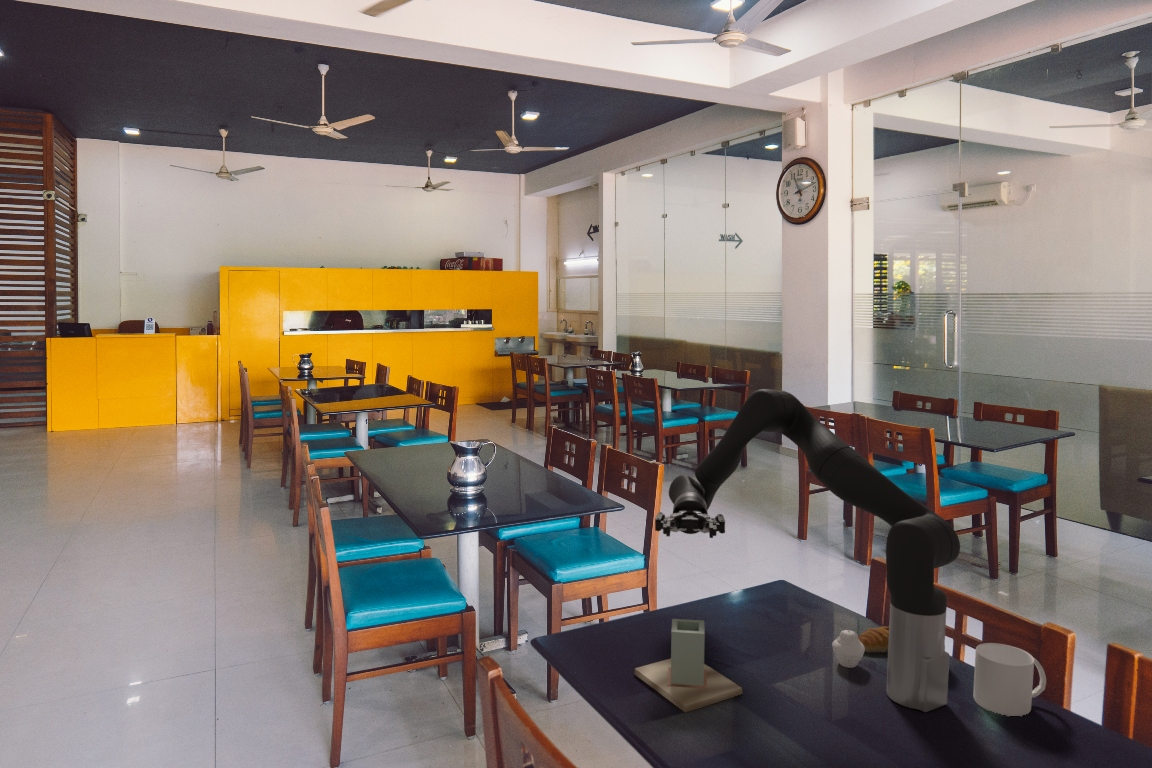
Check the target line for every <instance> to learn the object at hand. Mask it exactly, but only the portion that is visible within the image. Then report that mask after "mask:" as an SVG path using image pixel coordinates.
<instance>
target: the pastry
mask: <svg viewBox="0 0 1152 768" xmlns="http://www.w3.org/2000/svg"><path fill="white" fill-rule="evenodd" d="M858 639H859V640H860V642H861V643H862V644H863V645H864V647H865V652H866V653H869V654H870V653H880V652H881V653H888V643H889V626H884V625H882V626H879V627H873V628H867V629H866V630H865V631H864V632H863V633H860V634H859V635H858ZM881 653H880V654H881Z"/></svg>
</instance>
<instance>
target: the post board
mask: <svg viewBox="0 0 1152 768" xmlns="http://www.w3.org/2000/svg"><path fill="white" fill-rule="evenodd" d="M634 675H635V676H636V677H637V678H639V679H640V680H641V681H643V682H644V683H646V684H647V685H648V686H649V687H650V688H652V689H654V690H655V691H656V692H657V693H659V695H661V696H663V697H664V698H665V699H667V701H669V702H671V703H672V704H673V705H675V707H677V708H678V709H680V710H681V711H682V712H684V713H688V712H691V711H695V710H697V709H701V708H704V707H707V706H710V705H714V704H716V703H720V702H722V701H725V700H729V699H732V698H735V696H736V697H738V695H739V696H741V694H742V695H743V687H741V686H740V685H738V684H737V683H735V682H733V681H732V680H731V679H729V678H727V677H726V676H724V675H723V674H721V673H720V672H718V671H716V670H715V669H713V668H712V667H711V666H708V665H707V664H706V663H704V686H693V685H679V684H671V658H668V659H663V660H660V661H657V662H653V663H652V662H651V663H650V664H646V665H642V666H638V667H635V668H634Z"/></svg>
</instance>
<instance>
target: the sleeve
mask: <svg viewBox="0 0 1152 768" xmlns="http://www.w3.org/2000/svg"><path fill="white" fill-rule="evenodd" d="M705 631H706V630H705V620H703V619H702V620H699V619H686V618H684V619H683V618H681V619H680V618H672V619H671V631H670V632H671V634H670V636H671V641H670V642H671V645H670V652H671V654H670V659H671V684H679V685H693V686H704V664H705V642H706V641H705V640H706V639H705V633H706V632H705Z"/></svg>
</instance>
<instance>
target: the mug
mask: <svg viewBox="0 0 1152 768" xmlns="http://www.w3.org/2000/svg"><path fill="white" fill-rule="evenodd" d="M974 655H975V657H974V674H973V675H974V676H973V679H974V680H973V695H972V696H973V700H974V701H975V703H976V704H977V705H978V706H980V708H982V709H984V710H986V711H988V712H990V711H992V712H991V713H993V712H994V713H993V714H996V713H998V714H997V715H999V714H1001V715H1000V716H1003V715H1006V716H1005V717H1010V716H1020V717H1023V715H1025V716H1026V714H1027V715H1028V714H1029V713H1030V712H1031V710H1032V700H1033V698H1036V697H1038V696H1040V695H1041V694H1042V693H1043V692H1044V691H1045V690H1046V686H1047V677H1046V672H1045V670H1044V667H1043V666H1042V665H1041V663H1040V662H1039V661H1038V660H1037V659H1036V658H1035V657H1033V655H1032V654H1031V653H1030V652H1027V651H1026V650H1024V649H1022V648H1019V647H1015V646H1013V645H1008V644H1004V643H996V642H985V643H980V644H978V645H977V646H976V647H975V654H974ZM1035 667H1036V669H1037V671H1038V674H1039V683H1038V685H1037V686H1036V687H1035V688H1034V689H1033V683H1034V671H1035V669H1034V668H1035Z"/></svg>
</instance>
